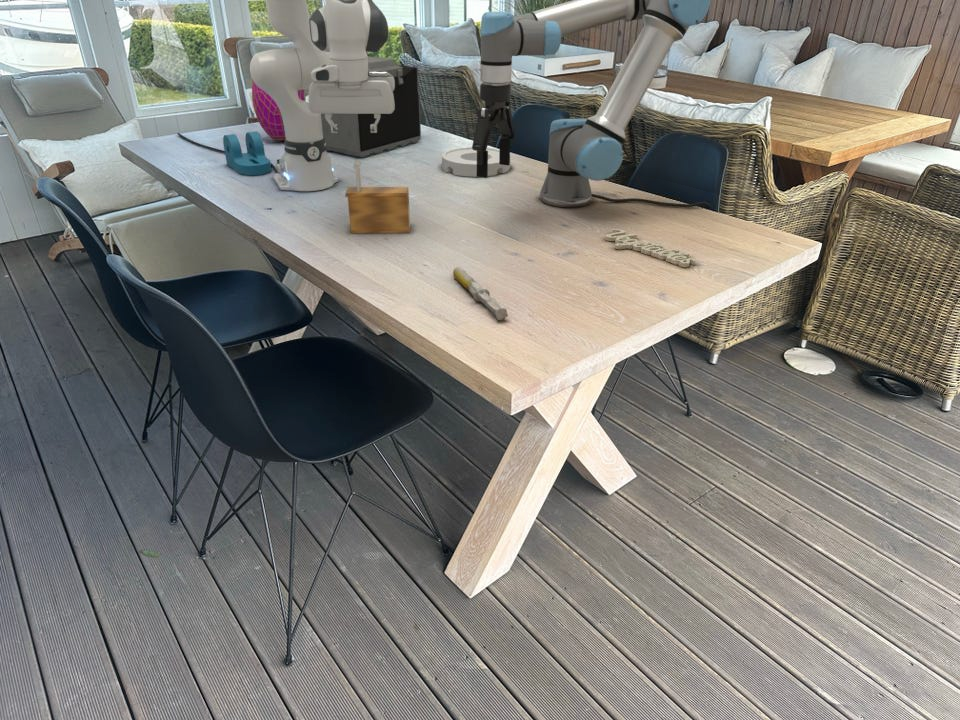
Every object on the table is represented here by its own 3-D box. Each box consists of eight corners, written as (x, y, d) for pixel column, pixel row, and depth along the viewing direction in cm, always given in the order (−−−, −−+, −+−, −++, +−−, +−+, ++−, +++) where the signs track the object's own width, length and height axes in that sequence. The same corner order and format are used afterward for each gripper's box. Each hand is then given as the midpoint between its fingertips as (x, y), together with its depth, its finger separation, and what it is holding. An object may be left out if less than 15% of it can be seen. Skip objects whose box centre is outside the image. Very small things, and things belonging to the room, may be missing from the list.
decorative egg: (293, 132, 276) (283, 50, 261) (319, 140, 264) (310, 56, 249) (249, 139, 265) (236, 54, 250) (273, 148, 253) (261, 60, 238)
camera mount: (227, 164, 233) (221, 132, 227) (257, 160, 238) (252, 129, 233) (244, 176, 220) (239, 143, 215) (276, 172, 225) (271, 139, 220)
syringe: (449, 274, 155) (449, 263, 153) (465, 272, 156) (464, 260, 154) (490, 323, 135) (491, 310, 133) (508, 319, 136) (508, 307, 134)
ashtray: (444, 158, 243) (444, 146, 241) (509, 159, 243) (510, 147, 241) (439, 176, 224) (438, 163, 222) (510, 177, 223) (510, 165, 221)
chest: (350, 233, 177) (347, 197, 173) (353, 226, 182) (350, 190, 177) (409, 232, 178) (407, 196, 173) (410, 225, 183) (408, 190, 178)
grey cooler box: (383, 133, 276) (378, 52, 261) (425, 141, 265) (422, 56, 250) (314, 150, 251) (304, 61, 235) (358, 160, 240) (350, 67, 224)
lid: (345, 196, 173) (342, 164, 168) (348, 190, 177) (345, 158, 173) (407, 196, 173) (406, 164, 169) (408, 190, 178) (407, 158, 174)
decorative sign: (591, 236, 174) (616, 227, 180) (591, 240, 174) (616, 231, 180) (679, 267, 157) (703, 256, 163) (678, 271, 158) (703, 260, 163)
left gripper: (395, 69, 163) (397, 129, 171) (308, 69, 163) (314, 129, 170) (393, 73, 158) (396, 135, 165) (303, 73, 157) (310, 135, 164)
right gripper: (502, 75, 178) (500, 158, 188) (458, 89, 158) (458, 180, 169) (529, 77, 175) (525, 161, 186) (487, 91, 155) (485, 184, 166)
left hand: (354, 132), depth 167 cm, fingers open, 8 cm apart
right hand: (493, 170), depth 177 cm, fingers open, 13 cm apart
